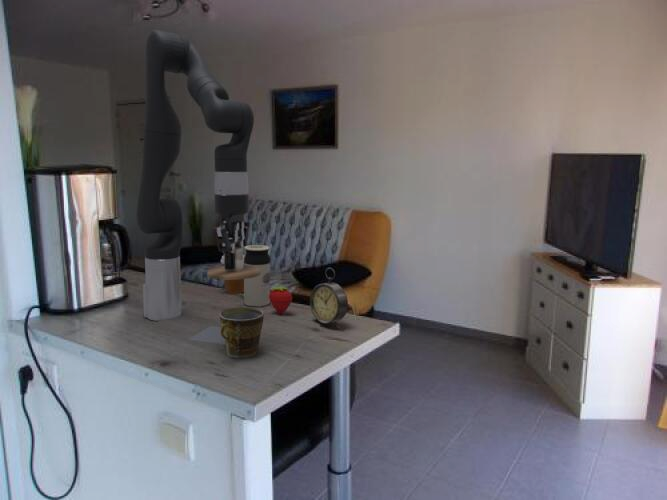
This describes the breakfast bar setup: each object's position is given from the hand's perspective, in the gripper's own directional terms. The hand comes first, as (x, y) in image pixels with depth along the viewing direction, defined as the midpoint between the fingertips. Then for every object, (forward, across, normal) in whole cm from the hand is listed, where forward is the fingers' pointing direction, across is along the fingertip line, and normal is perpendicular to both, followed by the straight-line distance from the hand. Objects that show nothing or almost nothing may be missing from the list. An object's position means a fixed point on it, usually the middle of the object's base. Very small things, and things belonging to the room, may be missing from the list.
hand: (233, 267), depth 116 cm
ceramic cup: (+20, +3, +2) cm, 21 cm away
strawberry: (+20, -30, 0) cm, 36 cm away
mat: (+20, -7, -8) cm, 22 cm away
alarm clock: (+20, -25, +16) cm, 36 cm away
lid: (+2, 0, 0) cm, 2 cm away
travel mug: (+20, -38, -11) cm, 44 cm away
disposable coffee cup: (+19, -49, -24) cm, 58 cm away
